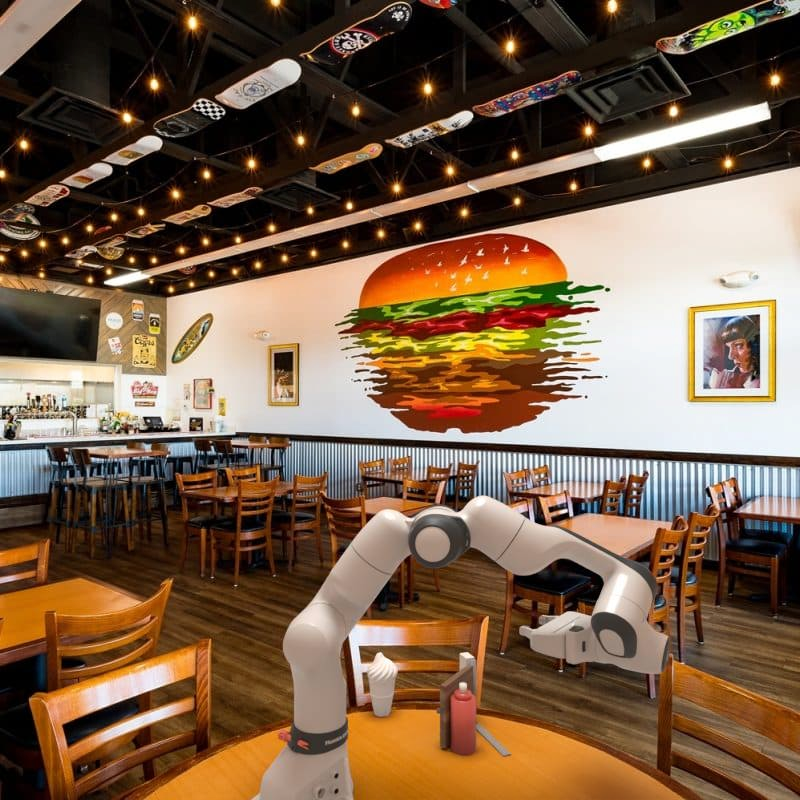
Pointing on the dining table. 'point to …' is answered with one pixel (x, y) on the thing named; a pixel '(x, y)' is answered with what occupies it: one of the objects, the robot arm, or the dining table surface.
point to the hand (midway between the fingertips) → (530, 624)
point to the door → (445, 701)
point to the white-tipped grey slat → (469, 660)
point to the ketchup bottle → (463, 721)
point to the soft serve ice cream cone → (382, 684)
